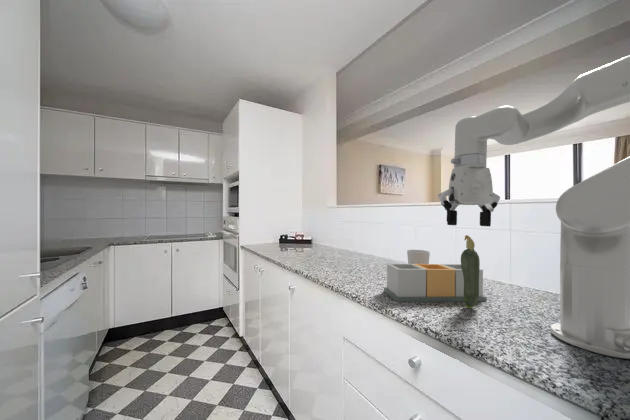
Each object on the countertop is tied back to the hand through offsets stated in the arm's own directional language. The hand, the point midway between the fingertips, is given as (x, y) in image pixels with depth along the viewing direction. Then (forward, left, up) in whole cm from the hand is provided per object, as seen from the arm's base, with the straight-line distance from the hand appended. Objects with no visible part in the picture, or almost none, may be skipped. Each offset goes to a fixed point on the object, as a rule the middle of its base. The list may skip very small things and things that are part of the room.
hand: (468, 225), depth 67 cm
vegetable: (0, 0, -23) cm, 23 cm away
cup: (+26, +1, -23) cm, 34 cm away
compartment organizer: (+11, +4, -23) cm, 25 cm away
